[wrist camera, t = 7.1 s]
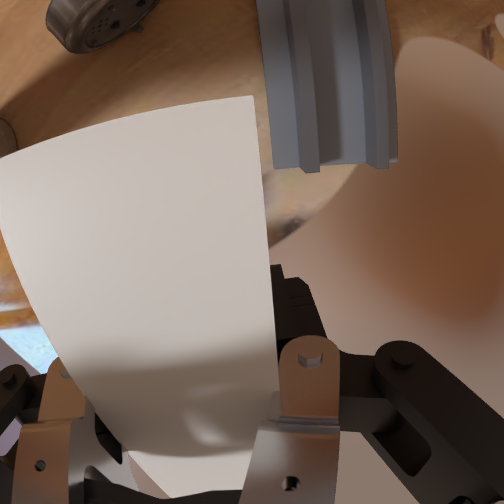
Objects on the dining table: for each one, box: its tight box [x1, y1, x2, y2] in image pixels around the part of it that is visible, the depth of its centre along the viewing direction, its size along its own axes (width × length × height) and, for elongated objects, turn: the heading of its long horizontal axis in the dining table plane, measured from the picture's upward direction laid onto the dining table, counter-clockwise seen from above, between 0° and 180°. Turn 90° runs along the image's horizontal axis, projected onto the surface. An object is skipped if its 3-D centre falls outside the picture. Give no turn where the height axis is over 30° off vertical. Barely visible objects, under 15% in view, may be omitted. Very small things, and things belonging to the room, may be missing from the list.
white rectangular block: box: [0, 95, 280, 498], centre depth 9 cm, size 4×12×8 cm, turn 6°
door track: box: [256, 0, 398, 173], centre depth 25 cm, size 14×24×4 cm, turn 6°
